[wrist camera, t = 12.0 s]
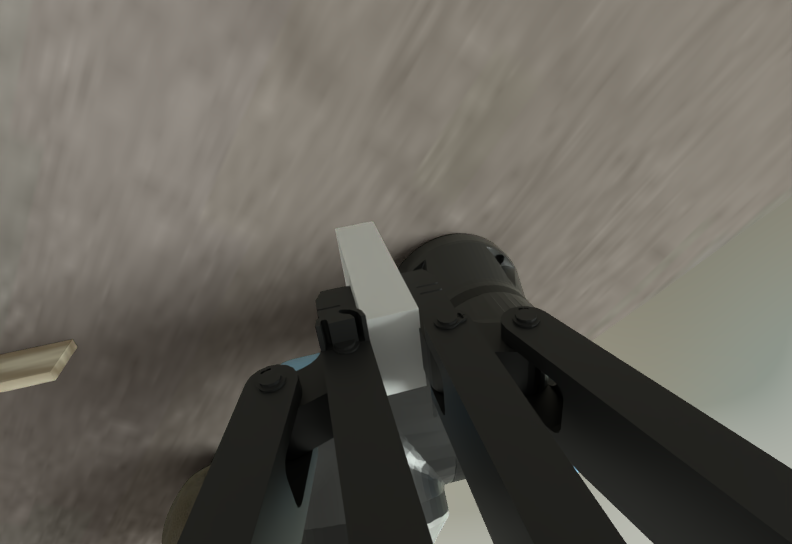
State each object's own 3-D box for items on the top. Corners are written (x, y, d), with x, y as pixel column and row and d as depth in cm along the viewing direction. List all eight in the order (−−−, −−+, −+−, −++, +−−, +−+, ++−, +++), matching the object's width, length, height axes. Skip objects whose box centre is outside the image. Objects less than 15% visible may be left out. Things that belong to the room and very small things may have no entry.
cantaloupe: (160, 506, 57) (125, 644, 44) (197, 425, 52) (171, 552, 39) (268, 519, 62) (266, 645, 49) (310, 446, 58) (319, 564, 45)
